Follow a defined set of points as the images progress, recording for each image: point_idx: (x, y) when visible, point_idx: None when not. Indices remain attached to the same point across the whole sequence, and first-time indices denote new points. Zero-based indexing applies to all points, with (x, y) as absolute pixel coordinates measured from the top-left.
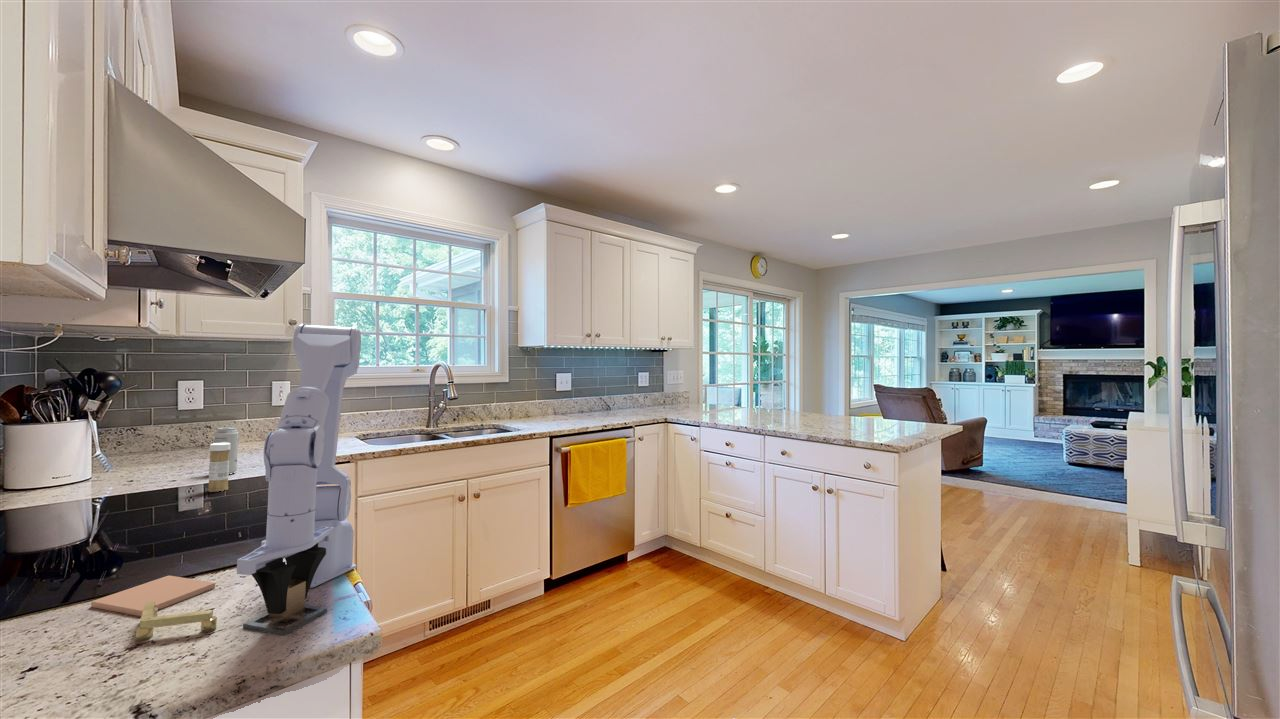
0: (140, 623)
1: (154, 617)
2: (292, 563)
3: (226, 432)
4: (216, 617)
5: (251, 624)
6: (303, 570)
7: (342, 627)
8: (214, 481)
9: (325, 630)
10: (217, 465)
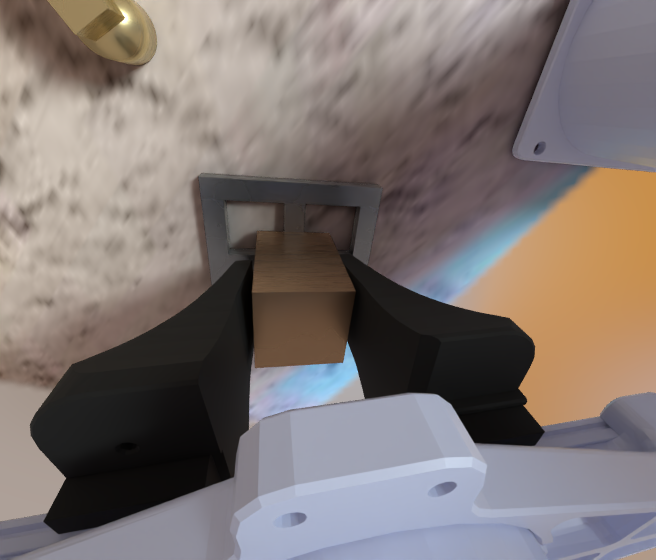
0: None
1: None
2: (386, 347)
3: None
4: (136, 46)
5: (207, 211)
6: (368, 371)
7: (295, 386)
8: None
9: (273, 371)
10: None
